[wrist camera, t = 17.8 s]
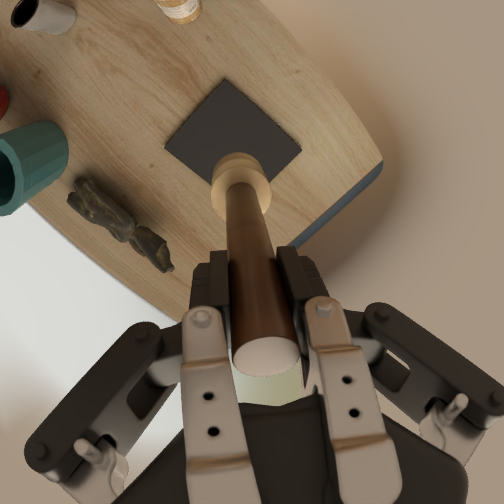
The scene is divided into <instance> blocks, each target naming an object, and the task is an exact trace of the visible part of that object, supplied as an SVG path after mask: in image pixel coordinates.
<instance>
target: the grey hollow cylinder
mask: <svg viewBox="0 0 504 504" xmlns="http://www.w3.org/2000/svg"><path fill="white" fill-rule="evenodd" d="M75 20H76V12H75V10H74V9H73V8H71V7H68V6H66V5H63V4H61V3H58V2H55V1H53V0H20V1H19V2H18V4H17V5H16V6H15V8H14V10H13V12H12V15H11V24H12V26H13V27H14V28H19V29H27V30H33V31H39V32H45V33H50V34H56V35H60V34H63V33H65V32H67V31H68V30H69V29H70V28H71V27H72V26H73V24H74V22H75Z"/></svg>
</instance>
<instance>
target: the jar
mask: <svg viewBox="0 0 504 504" xmlns="http://www.w3.org/2000/svg"><path fill="white" fill-rule="evenodd" d="M67 161H68V143H67V140H66V137H65V135H64V133H63V131H62V130H61V129H60V128H59V127H58V126H57V125H56V124H54V123H53V122H50V121H38V122H35V123H31V124H28V125H25V126H22V127H19V128H16V129H13V130H10V131H8V132H5V133H2V134H0V216H6V215H11V214H12V213H13V212H14V211H15V210H17V209H18V208H19V207H20V206H22V205H23V204H24V203H26V202H27V201H28V200H30V199H31V198H32V197H33V196H35V195H36V194H37V193H39V192H40V191H41V190H43V189H44V188H46V187H47V186H48V185H50V184H51V183H52V182H54V181H55V180H56V179H58V178H59V177H60V176H61V174H62V173H63V171H64V170H65V167H66V165H67Z"/></svg>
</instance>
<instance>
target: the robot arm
mask: <svg viewBox="0 0 504 504" xmlns="http://www.w3.org/2000/svg"><path fill="white" fill-rule="evenodd" d="M276 261H277V265H278V268H279V272H280V275H281V279H282V282H283V286H284V289H285V293H286V296H287V300H288V304H289V307H290V311H291V314H292V318H293V322H294V325H295V329H296V332H297V336H298V340H299V343H300V347H301V355H300V358H299V366H300V374H301V383H302V393H303V398H301V399H298V400H296V401H293V402H290V403H287V404H285V405H282V406H268V405H260V404H252V403H238V401H237V396H236V391H235V386H234V381H233V376H232V370H231V365H230V360H229V355H228V348H231V334H230V326H231V314H230V293H229V271H228V255H227V250H220V251H210V263H199V264H198V265H197V267H196V268H195V269H194V271H193V280H192V287H191V295H190V304H189V310H188V311H187V312H186V313H185V314H184V315H183V318H182V321H181V322H180V323H178V324H176V325H174V326H171V327H168V328H164V329H161V330H160V328H159V327H158V326H157V325H156V324H154V323H152V322H139V323H136V324H134V325H132V326H131V327H129V328H128V329H127V330H126V331H125V332H124V333H123V334H122V335H121V337H119V339H118V340H117V341H116V342H115V343H114V344H113V345H112V346H111V347H110V348H109V349H108V350H107V351H106V352H105V353H104V354H103V356H102V357H101V358H100V359H99V360H98V361H97V362H96V363H95V364H94V365H93V366H92V367H91V369H90V370H89V371H88V372H87V373H86V374H85V375H84V376H83V377H82V378H81V380H80V381H79V382H78V383H77V384H76V385H75V386H74V387H73V388H72V389H71V391H70V392H69V393H68V394H67V395H66V396H65V397H64V398H63V400H62V401H61V402H60V403H59V404H58V405H57V407H55V409H54V410H53V411H52V412H51V413H50V414H49V415H48V417H47V418H46V419H45V420H44V421H43V423H41V425H40V426H39V427H38V428H37V430H36V431H35V432H34V433H33V434H32V435H31V436H30V438H29V439H28V440H27V442H26V444H25V448H24V456H25V460H26V462H27V464H28V465H29V466H30V467H31V468H32V469H33V470H34V471H36V472H38V473H39V474H41V475H43V476H45V477H46V478H47V479H48V480H50V481H52V482H54V483H56V484H57V485H59V486H61V487H62V488H63V489H64V490H65V491H66V492H67V493H68V494H69V495H71V497H73V498H74V499H75V500H76V501H77V502H78V503H79V504H466V499H467V493H468V476H467V473H466V471H465V469H464V466H465V465H466V463H467V462H468V460H469V459H470V457H471V456H472V454H473V452H474V451H475V449H476V447H477V446H478V444H479V442H480V441H481V439H482V437H483V436H484V433H485V432H486V431H487V430H488V429H489V428H490V427H492V426H493V425H494V424H495V423H496V422H497V421H498V420H499V419H500V418H501V417H502V416H504V386H502V385H501V384H500V383H498V382H497V381H496V380H495V379H493V378H492V377H491V376H489V375H488V374H487V373H485V372H484V371H483V370H481V369H480V368H478V367H477V366H476V365H474V364H473V363H472V362H470V361H469V360H468V359H466V358H465V357H464V356H462V355H461V354H459V353H458V352H457V351H455V350H454V349H452V348H451V347H450V346H448V345H447V344H446V343H444V342H443V341H441V340H440V339H438V338H437V337H436V336H434V335H433V334H431V333H430V332H429V331H427V330H426V329H424V328H423V327H421V326H420V325H418V324H417V323H416V322H414V321H413V320H411V319H410V318H409V317H407V316H406V315H404V314H403V313H401V312H400V311H398V310H397V309H395V308H394V307H392V306H391V305H389V304H386V303H381V302H377V303H372V304H370V305H368V306H367V307H366V309H365V311H364V312H357V311H349V310H345V309H343V308H342V306H341V304H340V303H339V302H338V301H337V300H335V299H333V298H331V297H330V296H329V294H328V291H327V289H326V287H325V285H324V282H323V280H322V278H321V277H320V274H319V272H318V271H317V267H316V265H315V263H314V262H313V261H312V260H311V259H310V258H308V257H307V256H298V254H297V251H296V249H295V247H294V246H279V247H277V252H276ZM387 350H389V351H391V352H392V353H393V354H395V355H396V356H397V357H398V358H400V359H401V360H402V361H404V362H405V363H406V364H407V365H408V366H409V368H410V370H408V369H407V368H406V367H405V366H403V365H402V364H401V363H399V362H398V361H397V360H396V359H394V358H393V357H392V356H390V355H389V354H388V353H387ZM179 382H181V400H182V414H183V426H184V428H183V429H182V430H181V431H180V432H179V433H178V434H177V435H176V436H175V437H174V439H173V440H172V441H171V442H170V443H169V444H168V445H167V446H166V447H165V448H164V449H163V451H162V452H161V453H160V454H159V455H158V456H157V457H156V458H155V459H154V460H153V461H152V462H151V463H150V464H149V466H148V467H147V468H146V469H145V470H144V471H143V472H142V473H141V474H140V475H139V476H138V477H137V478H136V479H135V480H134V481H133V482H132V483H131V484H130V485H129V486H128V487H127V488H126V489H125V490H124V481H125V478H126V476H127V474H128V469H129V468H128V462H127V460H126V458H125V456H126V455H127V453H128V452H129V451H130V449H131V448H132V447H133V445H134V444H135V443H136V441H137V440H138V438H139V437H140V436H141V434H142V433H143V432H144V430H145V429H146V427H147V426H148V425H149V423H150V422H151V421H152V419H153V418H154V416H155V415H156V414H157V412H158V411H159V409H160V408H161V406H162V405H163V404H164V402H165V401H166V400H167V398H168V397H169V396H170V394H171V393H172V392H173V390H174V389H175V387H176V386H177V383H179ZM375 388H376V389H377V390H378V391H379V392H380V393H381V394H383V395H384V396H385V397H386V398H387V399H389V400H390V401H391V402H392V403H393V404H395V405H396V406H397V407H398V408H399V409H401V410H402V411H403V412H404V413H405V414H406V415H408V416H409V417H410V418H411V419H412V420H414V421H415V422H416V423H418V424H419V430H420V437H419V436H418V435H416V434H414V433H413V432H411V431H410V430H408V429H406V428H405V427H403V426H402V425H400V424H399V423H397V422H395V421H394V420H392V419H391V418H389V417H388V416H386V415H385V414H383V413H382V412H381V410H380V406H379V402H378V399H377V395H376V391H375Z"/></svg>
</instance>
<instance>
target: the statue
mask: <svg viewBox="0 0 504 504" xmlns="http://www.w3.org/2000/svg"><path fill="white" fill-rule="evenodd" d="M73 185H74V187H75V189H76V191H77V192H70V194H68V199H67V203H68V204H69V205H70V206H71V207H72V208H73V209H74V210H75V211H77V212H78V213H79V214H80V215H81V216H83V217H84V218H85V219H86V220H88V221H90V222H91V223H94V224H98V225H100V226H103V227H105V228H106V229H107V230H109V232H110V233H111V234H112V235H113V237H114V238H116V239H117V240H118V241H119V242H126V241H129V243H130V245H131V246H132V247H133V249H134V250H135V251H136V252H137V253H139V254H140V255H142V256H143V257H144V256H147V258H148V259H149V260H150V261H151V262H152V263H153V265H154V266H155V267H156V268H158V269H159V270H160V271H161V272H162V273H166V272H167V271H170V272H172V271H173V270H174V266H173V264H172V263H171V261H170V252H169V249H168V247H167V246H166V245H167V242H166V241H165V240H164V239H163V238H161V237H160V236H159V235H158V234H155V233H154V232H153V231H151V230H150V229H149V228H147V227H144V226H139V227H138V228H137V227H135V226H136V225H137V224H138V221H137V220H136V218H135V216H134V215H129V214H128V213H127V212H126V211H125V210H124V209H123V208H122V207H120V206H118V204H117V203H115V202H114V201H113V200H112V199H111V198H110V197H109V196H108V195H107V194H104V193H103V192H102V191H101V190H99V189H98V188H97V187H96V186H95V184H94V181H93V179H89V180H86V181H84V180H83V179H82V178H80V177H79V178H77V179H76V180H75V182H74V184H73ZM74 193H75V194H74Z"/></svg>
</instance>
